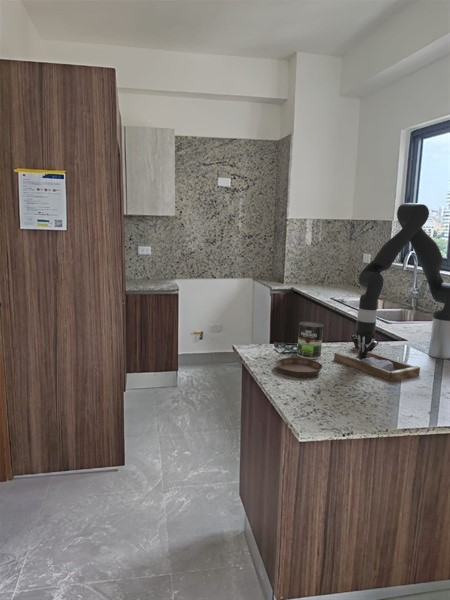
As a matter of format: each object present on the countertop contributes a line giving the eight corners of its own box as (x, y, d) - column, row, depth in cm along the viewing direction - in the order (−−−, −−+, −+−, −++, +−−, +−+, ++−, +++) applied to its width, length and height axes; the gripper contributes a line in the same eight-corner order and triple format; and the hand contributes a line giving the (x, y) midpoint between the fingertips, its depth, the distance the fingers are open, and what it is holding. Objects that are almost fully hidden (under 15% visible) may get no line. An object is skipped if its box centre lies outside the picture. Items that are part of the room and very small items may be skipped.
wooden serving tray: (360, 355, 202) (360, 347, 201) (419, 375, 177) (420, 367, 177) (334, 359, 193) (334, 352, 193) (392, 381, 169) (393, 372, 168)
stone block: (382, 380, 176) (395, 370, 183) (382, 369, 175) (395, 359, 181) (355, 373, 185) (368, 364, 191) (354, 362, 184) (368, 353, 190)
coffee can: (318, 360, 191) (321, 327, 189) (294, 357, 195) (296, 324, 192) (322, 354, 200) (325, 323, 198) (299, 351, 204) (302, 320, 202)
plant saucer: (270, 374, 171) (271, 366, 171) (281, 362, 188) (281, 354, 187) (318, 382, 165) (318, 374, 165) (324, 368, 182) (325, 361, 181)
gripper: (385, 322, 184) (381, 363, 187) (360, 315, 195) (356, 354, 198) (373, 323, 180) (368, 366, 183) (348, 316, 191) (344, 356, 194)
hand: (362, 360), depth 191 cm, fingers closed
